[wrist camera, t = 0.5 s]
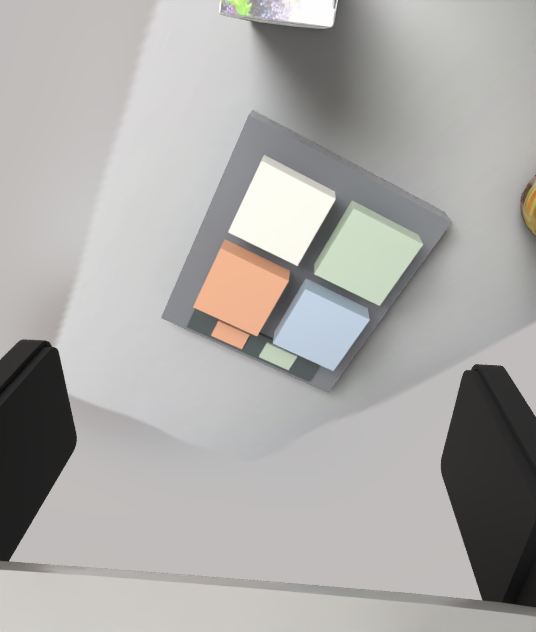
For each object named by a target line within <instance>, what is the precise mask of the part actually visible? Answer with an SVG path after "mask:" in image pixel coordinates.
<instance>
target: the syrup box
mask: <svg viewBox="0 0 536 632" xmlns="http://www.w3.org/2000/svg"><path fill="white" fill-rule="evenodd" d="M337 3H338V0H220V8H219V14H221V15H224V16H228V17H234V18H239V19H243V20H248V21H254V22H261V23H270V24H278V25H286V26H295V27H304V28H317V29H326V28H331V27H333V25H334V21H335V15H336V9H337Z"/></svg>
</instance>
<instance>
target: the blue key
mask: <svg viewBox="0 0 536 632" xmlns="http://www.w3.org/2000/svg"><path fill="white" fill-rule="evenodd" d="M369 320H370V319H369V313H368V308H366V307H364V306H362V305H360V304H358V303H356V302H354V301H352V300H350V299H348V298H346V297H344V296H341V295H339V294H337V293H335V292H333V291H331V290H329V289H327V288H325V287H323V286H321V285H319V284H317V283H315V282H312V281H310V280H308V279H305V281H304V282H303V284H302V286H301V287H300V289H299V291H298V292H297V294H296V296H295V297H294V299H293V301H292V302H291V304H290V306H289V308H288V309H287V311H286V313H285V314H284V316H283V318H282V319H281V321H280V323H279V324H278V326H277V328H276V329H275V331H274V338H273V344H275V345H277V346H279V347H281V348H284V349H286V350H288V351H290V352H292V353H295V354H297V355H299V356H301V357H303V358H306V359H308V360H310V361H312V362H314V363H317V364H319V365H321V366H323V367H325V368H328V369H330V370H332V371H334V370H335V368H336V367H337V365H338V364H339V363H340V361H341V360H342V358H343V357H344V355H345V354H346V353H347V351H348V350H349V348H350V347H351V346H352V344H353V343H354V341H355V340H356V339H357V337H358V336H359V334H360V333H361V332H362V330H363V329H364V327H365V326H366V324H367V323H368V322H369Z"/></svg>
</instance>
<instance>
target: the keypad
mask: <svg viewBox="0 0 536 632" xmlns="http://www.w3.org/2000/svg"><path fill="white" fill-rule="evenodd" d="M264 155H266V156H267V157H269V158H271V159H273V160H275V161H277V162H279V163H281V164H283V165H285V166H287V167H289V168H291V169H293V170H294V171H296V172H298V173H300V174H302V175H304V176H306V177H308V178H310V179H312V180H314V181H316V182H318V183H320V184H321V185H323V186H325V187H327V188H329V189H331V190H333V191H335V197H336V200H335V201H334V203H333V205H332V207H331V208H330V210H329V212H328V214H327V215H326V217H325V219H324V221H323V222H322V224H321V226H320V227H319V229H318V231H317V233H316V234H315V236H314V238H313V240H312V241H311V243H310V245H309V247H308V248H307V250H306V252H305V254H304V255H303V257H302V259H301V261H300V262H299V264H298V266H296V265H294V264H292V263H290V262H288V261H286V260H284V259H282V258H280V257H278V256H276V255H274V254H272V253H270V252H268V251H266V250H263V249H261V248H259V247H257V246H255V245H253V244H251V243H249V242H247V241H245V240H243V239H241V238H239V237H237V236H235V235H233V234H231V233H228V231H229V229H230V227H231V225H232V222H233V220H234V218H235V216H236V214H237V212H238V210H239V207H240V205H241V203H242V201H243V199H244V197H245V195H246V192H247V190H248V188H249V186H250V184H251V182H252V180H253V177H254V175H255V173H256V171H257V169H258V167H259V165H260V162H261V160H262V158H263V156H264ZM351 201H354V202H356V203H358V204H360V205H362V206H364V207H366V208H368V209H370V210H372V211H373V212H375V213H377V214H379V215H381V216H383V217H385V218H387V219H389V220H391V221H393V222H395V223H397V224H399V225H400V226H402V227H404V228H406V229H408V230H410V231H412V232H414V233H416V234H418V235H419V237H420V239H421V241H422V243H423V246H422V247H421V248H420V250H419V251H418V253H417V254H416V255H415V257H414V258H413V260H412V261H411V262H410V264H409V265H408V267H407V268H406V270H405V271H404V272H403V274H402V275H401V277H400V278H399V279H398V281H397V282H396V284H395V285H394V286H393V288H392V289H391V291H390V292H389V293H388V295H387V296H386V298H385V299H384V301H383V302H382V303H381V305H380V306H379V305H377V304H375V303H373V302H371V301H368V300H366V299H364V298H362V297H360V296H358V295H356V294H354V293H352V292H350V291H348V290H346V289H344V288H342V287H340V286H338V285H336V284H333V283H331V282H329V281H327V280H325V279H323V278H321V277H319V276H317V275H315V274H314V264H315V262H316V260H317V259H318V257H319V255H320V254H321V252H322V250H323V248H324V247H325V245H326V243H327V242H328V240H329V238H330V237H331V235H332V233H333V232H334V230H335V228H336V226H337V225H338V223H339V221H340V220H341V218H342V216H343V215H344V213H345V211H346V210H347V208H348V206H349V205H350V203H351ZM451 223H452V222H451V220H450V219H449V218H448V216H447V215H446V213H445V212H443V211H441V210H440V209H438V208H436V207H434V206H432V205H430V204H428V203H426V202H424V201H423V200H421V199H419V198H417V197H415V196H413V195H411V194H409V193H408V192H406V191H404V190H402V189H400V188H398V187H396V186H394V185H393V184H391V183H389V182H387V181H385V180H383V179H381V178H379V177H378V176H376V175H374V174H372V173H370V172H368V171H366V170H364V169H362V168H361V167H359V166H357V165H355V164H353V163H351V162H349V161H347V160H346V159H344V158H342V157H340V156H338V155H336V154H334V153H332V152H331V151H329V150H327V149H325V148H323V147H321V146H319V145H317V144H316V143H314V142H312V141H310V140H308V139H306V138H304V137H302V136H300V135H299V134H297V133H295V132H293V131H291V130H289V129H287V128H285V127H284V126H282V125H280V124H278V123H276V122H274V121H272V120H270V119H269V118H267V117H265V116H263V115H261V114H259V113H257V112H255V111H254V110H252V112H251V113H250V114H249V116H248V118H247V120H246V123H245V125H244V127H243V130H242V132H241V134H240V137H239V139H238V141H237V144H236V146H235V148H234V151H233V153H232V155H231V157H230V160H229V162H228V164H227V167H226V169H225V171H224V174H223V176H222V178H221V181H220V183H219V185H218V188H217V190H216V192H215V194H214V197H213V199H212V201H211V204H210V206H209V208H208V211H207V213H206V215H205V218H204V220H203V222H202V225H201V227H200V229H199V231H198V234H197V236H196V238H195V241H194V243H193V245H192V248H191V250H190V252H189V255H188V257H187V259H186V262H185V264H184V266H183V268H182V271H181V273H180V275H179V278H178V280H177V282H176V285H175V287H174V289H173V292H172V294H171V296H170V299H169V301H168V303H167V305H166V308H165V310H164V312H163V315H162V317H161V318H163V319H165V320H167V321H169V322H171V323H174V324H176V325H178V326H180V327H183V328H185V329H187V330H189V331H192V332H194V333H196V334H198V335H201V336H203V337H205V338H207V339H210V340H212V341H214V342H216V343H219V344H221V345H223V346H225V347H228V348H230V349H232V350H234V351H236V352H239V353H241V354H243V355H245V356H248V357H250V358H252V359H254V360H257V361H259V362H261V363H263V364H266V365H268V366H270V367H272V368H275V369H277V370H279V371H281V372H284V373H286V374H288V375H290V376H292V377H295V378H297V379H299V380H301V381H304V382H306V383H308V384H310V385H313V386H315V387H317V388H319V389H322V390H324V391H326V392H329V391H330V390H331V388H332V387H333V385H334V384H335V383H336V381H337V380H338V379H339V377H340V376H341V374H342V373H343V372H344V370H345V369H346V368H347V366H348V365H349V363H350V362H351V361H352V359H353V358H354V357H355V355H356V354H357V352H358V351H359V350H360V348H361V347H362V345H363V344H364V343H365V341H366V340H367V339H368V337H369V336H370V334H371V333H372V332H373V330H374V329H375V328H376V326H377V325H378V323H379V322H380V321H381V319H382V318H383V316H384V315H385V314H386V312H387V311H388V310H389V308H390V307H391V305H392V304H393V303H394V301H395V300H396V299H397V297H398V296H399V294H400V293H401V292H402V290H403V289H404V287H405V286H406V285H407V283H408V282H409V281H410V279H411V278H412V276H413V275H414V274H415V272H416V271H417V270H418V268H419V267H420V265H421V264H422V263H423V261H424V260H425V258H426V257H427V256H428V254H429V253H430V252H431V250H432V249H433V247H434V246H435V245H436V243H437V242H438V241H439V239H440V238H441V236H442V235H443V234H444V232H445V231H446V230H447V228H448V227H449V225H450V224H451ZM224 239H226V240H228V241H230V242H232V243H234V244H236V245H238V246H240V247H242V248H244V249H246V250H248V251H250V252H252V253H255V254H257V255H259V256H261V257H263V258H265V259H267V260H269V261H271V262H273V263H275V264H277V265H279V266H281V267H284V268H286V269H288V270H290V275H289V282H288V283H287V285H286V287H285V289H284V290H283V292H282V294H281V296H280V297H279V299H278V301H277V303H276V304H275V306H274V308H273V310H272V311H271V313H270V315H269V316H268V318H267V320H266V322H265V323H264V325H263V327H262V329H261V330H260V332H259V334H258V336H255V335H253V334H251V333H248V332H246V331H244V330H242V329H240V328H237V327H235V326H233V325H231V324H229V323H226V322H224V321H222V320H220V319H218V318H215V317H213V316H211V315H209V314H207V313H204V312H202V311H200V310H198V309H196V308H193V306H194V304H195V302H196V299H197V297H198V295H199V293H200V291H201V289H202V287H203V284H204V282H205V280H206V278H207V276H208V274H209V272H210V269H211V267H212V265H213V263H214V261H215V259H216V257H217V254H218V252H219V250H220V248H221V246H222V244H223V242H224ZM305 279H308V280H310V281H312V282H315V283H317V284H319V285H321V286H323V287H325V288H327V289H329V290H331V291H333V292H335V293H337V294H339V295H341V296H344V297H346V298H348V299H350V300H352V301H354V302H356V303H358V304H360V305H362V306H364V307H366V308H368V313H369V319H370V320H369V322H368V323H367V324H366V326H365V327H364V329H363V330H362V332H361V333H360V334H359V336H358V337H357V339H356V340H355V341H354V343H353V344H352V346H351V347H350V348H349V350H348V351H347V353H346V354H345V355H344V357H343V358H342V360H341V361H340V363H339V364H338V365H337V367H336V368H335V370H334V371H332V370H330V369H328V368H325V367H323V366H321V365H319V364H317V363H314V362H312V361H310V360H308V359H306V358H303V357H301V356H299V355H297V354H295V353H292V352H290V351H288V350H286V349H284V348H281V347H279V346H277V345H275V344H273V338H274V331H275V329H276V328H277V326H278V324H279V323H280V321H281V319H282V318H283V316H284V314H285V313H286V311H287V309H288V308H289V306H290V304H291V302H292V301H293V299H294V297H295V296H296V294H297V292H298V291H299V289H300V287H301V286H302V284H303V282H304V281H305Z"/></svg>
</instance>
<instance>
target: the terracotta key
mask: <svg viewBox="0 0 536 632" xmlns="http://www.w3.org/2000/svg"><path fill="white" fill-rule="evenodd" d="M289 275H290V270H288V269H286V268H284V267H281V266H279V265H277V264H275V263H273V262H271V261H269V260H267V259H265V258H263V257H261V256H259V255H257V254H255V253H252V252H250V251H248V250H246V249H244V248H242V247H240V246H238V245H236V244H234V243H232V242H230V241H228V240H226V239H224V242H223V244H222V246H221V248H220V250H219V252H218V254H217V257H216V259H215V261H214V263H213V265H212V267H211V269H210V272H209V274H208V276H207V278H206V280H205V282H204V284H203V287H202V289H201V291H200V293H199V295H198V297H197V299H196V302H195V304H194V306H193V308H196V309H198V310H200V311H202V312H204V313H207V314H209V315H211V316H213V317H215V318H218V319H220V320H222V321H224V322H226V323H229V324H231V325H233V326H235V327H237V328H240V329H242V330H244V331H246V332H248V333H251V334H253V335H255V336H258V334H259V332H260V330H261V329H262V327H263V325H264V323H265V322H266V320H267V318H268V316H269V315H270V313H271V311H272V310H273V308H274V306H275V304H276V303H277V301H278V299H279V297H280V296H281V294H282V292H283V290H284V289H285V287H286V285H287V283H288V282H289Z"/></svg>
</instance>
